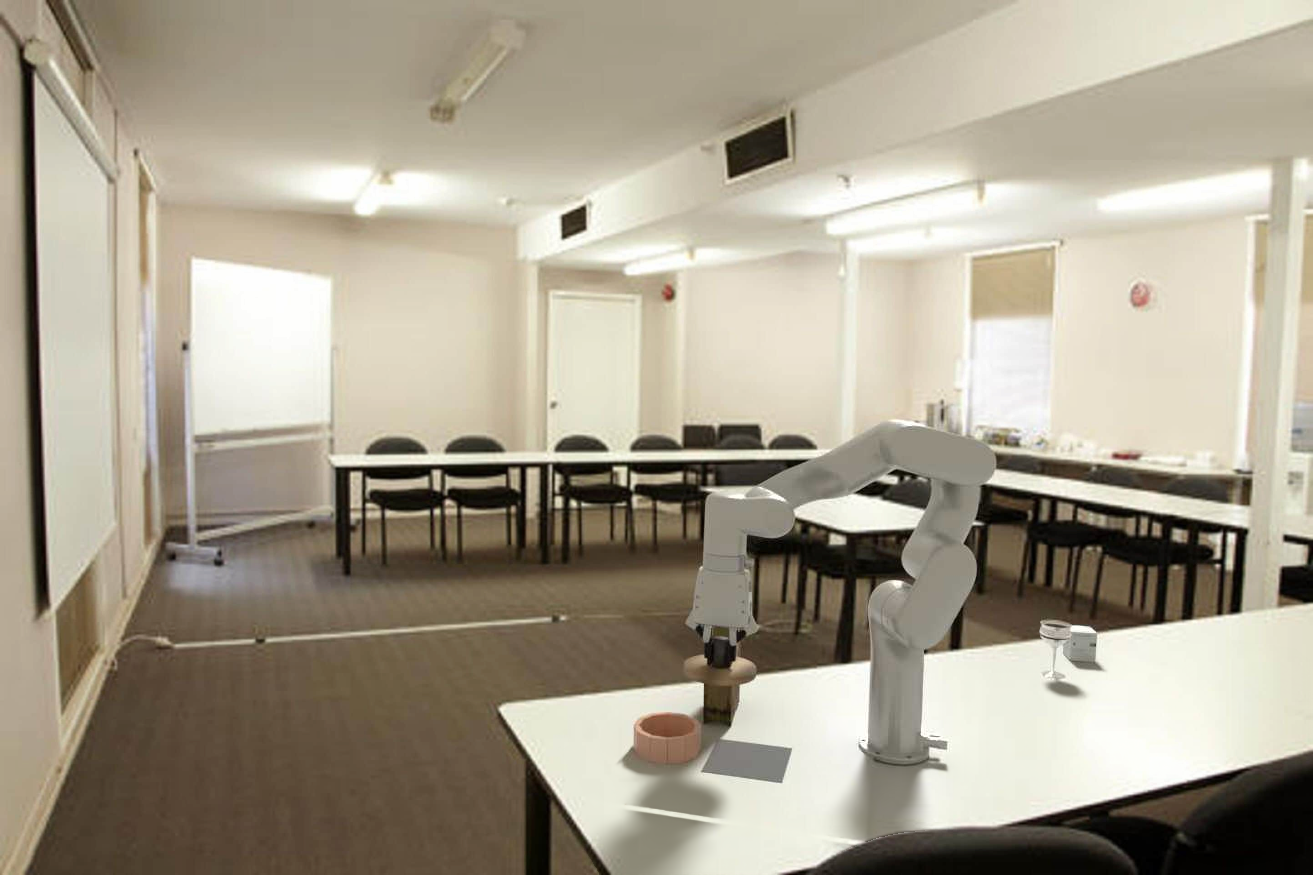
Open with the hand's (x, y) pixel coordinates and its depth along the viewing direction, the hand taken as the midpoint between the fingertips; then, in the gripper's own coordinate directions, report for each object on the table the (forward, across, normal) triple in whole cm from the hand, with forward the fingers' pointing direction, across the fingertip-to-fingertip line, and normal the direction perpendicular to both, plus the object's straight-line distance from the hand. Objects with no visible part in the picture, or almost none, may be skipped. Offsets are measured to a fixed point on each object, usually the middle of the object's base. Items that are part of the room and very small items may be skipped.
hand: (719, 662), depth 158 cm
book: (+18, +3, -22) cm, 28 cm away
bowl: (+18, +9, -1) cm, 20 cm away
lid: (+2, 0, 0) cm, 2 cm away
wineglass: (+16, -67, -65) cm, 95 cm away
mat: (+18, -6, 0) cm, 19 cm away
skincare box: (+16, -75, -80) cm, 111 cm away
